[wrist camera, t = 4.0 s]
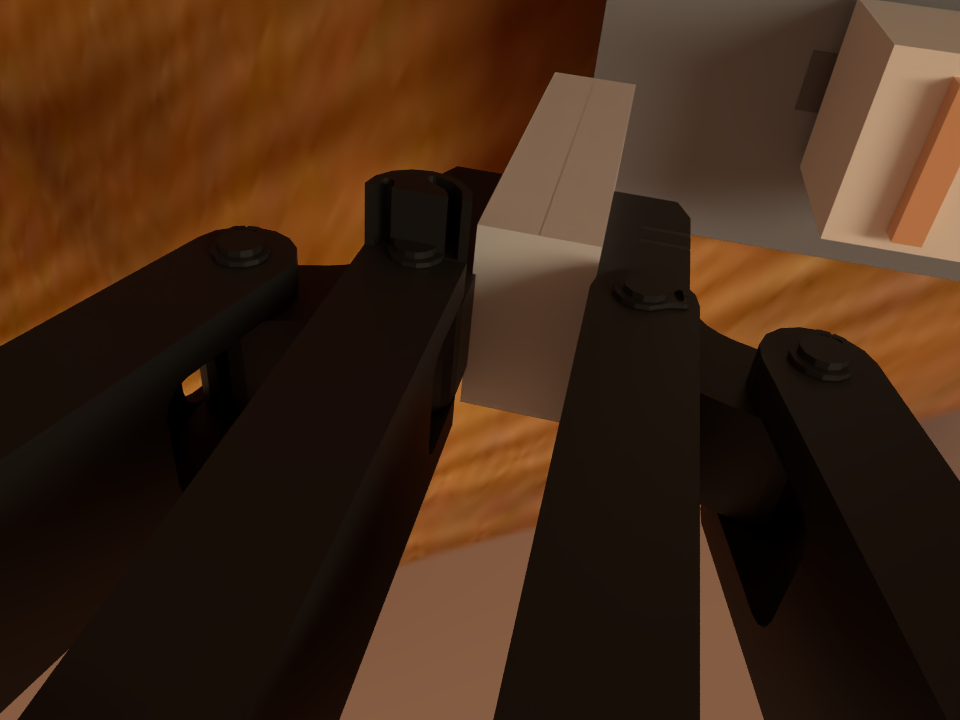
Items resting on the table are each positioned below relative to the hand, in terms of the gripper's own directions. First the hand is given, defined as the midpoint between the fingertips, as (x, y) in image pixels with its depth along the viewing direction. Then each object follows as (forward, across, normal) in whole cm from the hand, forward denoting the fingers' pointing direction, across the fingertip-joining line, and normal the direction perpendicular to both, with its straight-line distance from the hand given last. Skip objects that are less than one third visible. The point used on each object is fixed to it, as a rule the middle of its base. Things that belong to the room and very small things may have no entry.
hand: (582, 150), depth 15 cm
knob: (+6, +7, 0) cm, 9 cm away
